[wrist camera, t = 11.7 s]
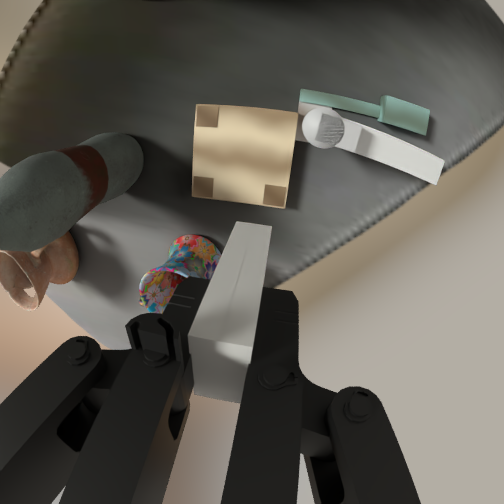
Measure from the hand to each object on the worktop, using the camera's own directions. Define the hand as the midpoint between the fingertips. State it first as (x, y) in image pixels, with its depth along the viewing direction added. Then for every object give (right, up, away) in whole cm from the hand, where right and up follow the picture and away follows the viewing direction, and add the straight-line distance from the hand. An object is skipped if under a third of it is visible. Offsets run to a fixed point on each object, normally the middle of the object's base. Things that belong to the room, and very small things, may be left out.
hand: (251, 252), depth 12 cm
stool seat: (+7, +13, +20) cm, 25 cm away
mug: (-9, -1, +30) cm, 32 cm away
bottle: (-19, +13, +24) cm, 33 cm away
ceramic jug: (-37, +2, +33) cm, 50 cm away
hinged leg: (+14, +14, +18) cm, 27 cm away
